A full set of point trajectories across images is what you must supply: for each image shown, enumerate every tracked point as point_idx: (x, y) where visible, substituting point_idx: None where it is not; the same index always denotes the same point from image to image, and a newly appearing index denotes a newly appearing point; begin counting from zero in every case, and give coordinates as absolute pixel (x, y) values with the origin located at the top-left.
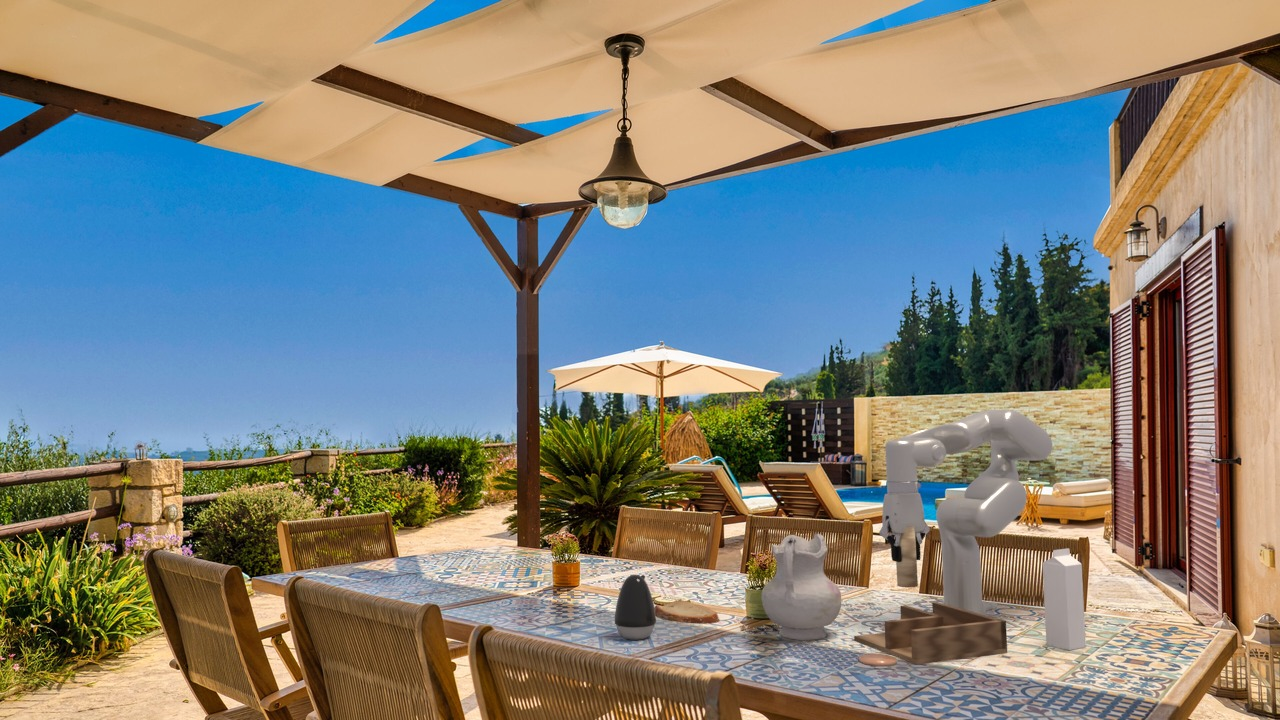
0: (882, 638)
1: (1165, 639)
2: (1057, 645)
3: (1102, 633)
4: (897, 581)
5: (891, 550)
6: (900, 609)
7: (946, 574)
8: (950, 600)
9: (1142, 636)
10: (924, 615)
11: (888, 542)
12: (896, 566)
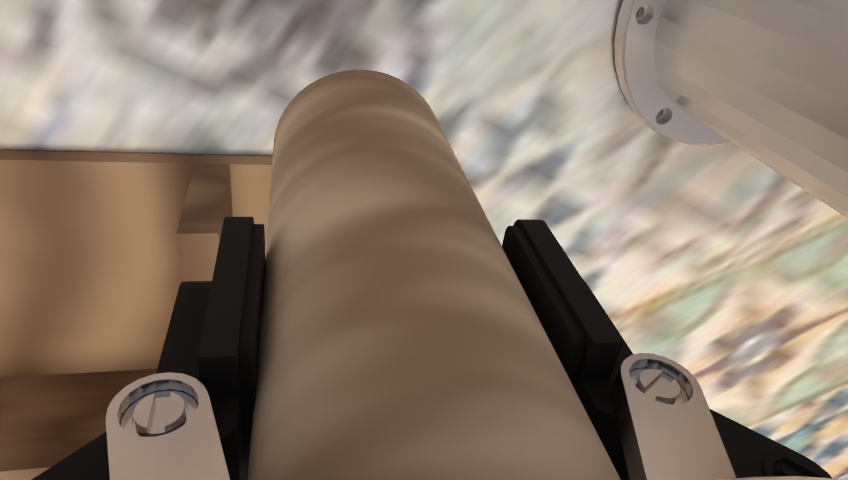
0: (2, 252)
1: (841, 450)
2: None
3: (817, 375)
4: (277, 135)
5: (164, 350)
6: (179, 221)
7: (841, 86)
8: (707, 60)
9: (843, 420)
10: None
11: (74, 458)
12: (281, 190)
